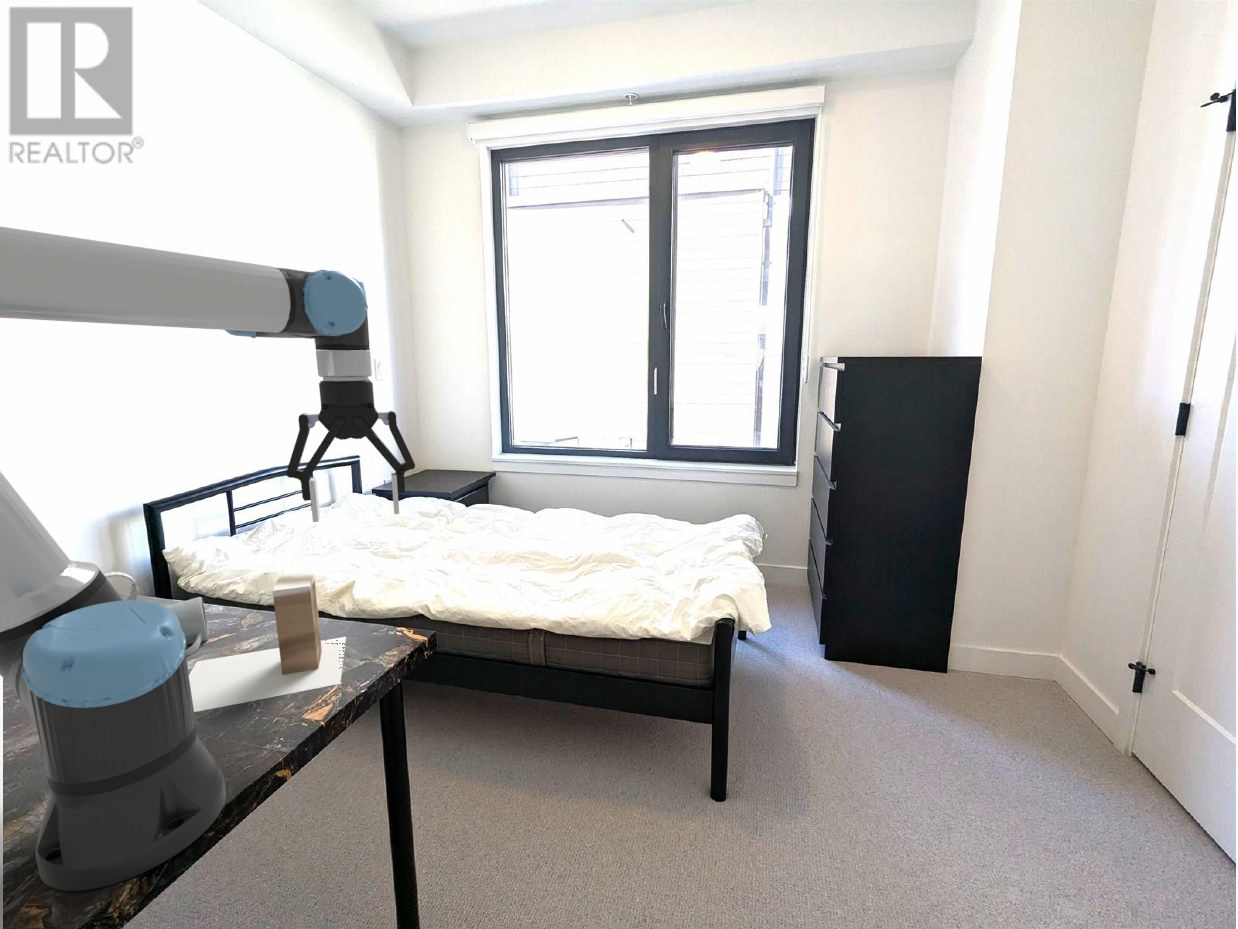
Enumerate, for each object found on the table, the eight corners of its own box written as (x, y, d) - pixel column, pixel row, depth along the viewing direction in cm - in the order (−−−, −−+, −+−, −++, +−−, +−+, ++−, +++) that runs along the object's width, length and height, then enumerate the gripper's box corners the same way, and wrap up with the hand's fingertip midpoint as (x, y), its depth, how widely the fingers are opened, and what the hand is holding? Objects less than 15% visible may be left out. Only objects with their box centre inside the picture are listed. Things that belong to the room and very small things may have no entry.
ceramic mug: (151, 643, 99) (144, 602, 97) (208, 629, 104) (203, 590, 102) (148, 670, 90) (141, 626, 89) (211, 654, 95) (205, 612, 94)
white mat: (340, 686, 86) (340, 683, 86) (163, 720, 77) (162, 718, 77) (346, 638, 100) (346, 636, 100) (197, 663, 92) (196, 661, 92)
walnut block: (318, 668, 90) (309, 586, 87) (282, 675, 88) (272, 590, 85) (321, 651, 95) (314, 572, 93) (288, 656, 93) (279, 577, 91)
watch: (84, 634, 102) (73, 576, 100) (141, 619, 107) (132, 564, 105) (87, 644, 98) (76, 585, 96) (146, 629, 104) (137, 572, 102)
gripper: (424, 377, 95) (431, 503, 99) (261, 379, 86) (277, 517, 90) (427, 378, 88) (435, 514, 92) (252, 380, 79) (269, 530, 83)
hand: (357, 515), depth 91 cm, fingers open, 11 cm apart
